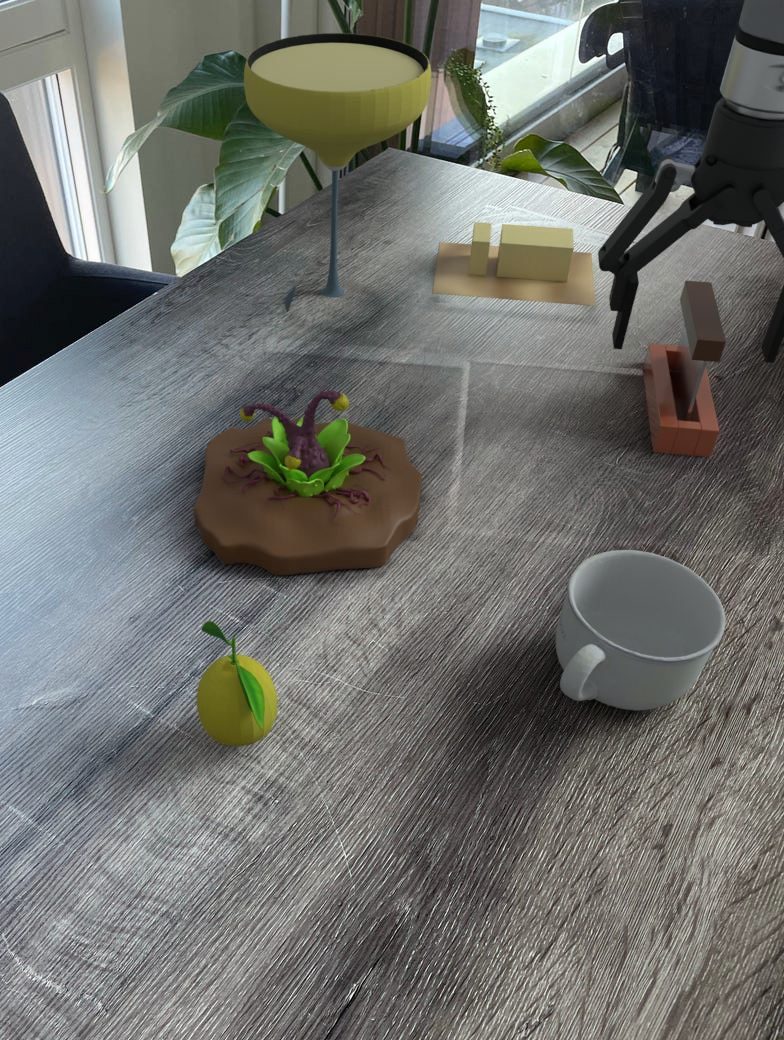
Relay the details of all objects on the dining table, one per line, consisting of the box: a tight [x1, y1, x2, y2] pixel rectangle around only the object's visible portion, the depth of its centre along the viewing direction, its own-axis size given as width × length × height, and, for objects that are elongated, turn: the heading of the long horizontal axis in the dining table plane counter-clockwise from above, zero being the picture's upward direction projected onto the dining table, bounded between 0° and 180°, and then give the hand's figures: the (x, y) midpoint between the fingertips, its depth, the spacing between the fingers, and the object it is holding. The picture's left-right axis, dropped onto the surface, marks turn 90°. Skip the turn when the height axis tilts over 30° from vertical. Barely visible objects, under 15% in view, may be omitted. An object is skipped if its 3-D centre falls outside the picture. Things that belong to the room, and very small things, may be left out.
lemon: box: [196, 620, 278, 747], centre depth 69 cm, size 7×6×10 cm
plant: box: [192, 389, 423, 576], centre depth 87 cm, size 20×20×11 cm
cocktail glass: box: [243, 32, 432, 312], centre depth 108 cm, size 18×18×25 cm
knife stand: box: [641, 342, 720, 458], centre depth 100 cm, size 5×15×4 cm, turn 171°
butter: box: [496, 223, 575, 282], centre depth 118 cm, size 8×5×4 cm, turn 81°
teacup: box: [555, 549, 727, 711], centre depth 74 cm, size 14×11×8 cm
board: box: [431, 241, 597, 307], centre depth 120 cm, size 18×13×2 cm
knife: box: [670, 280, 727, 421], centre depth 97 cm, size 2×11×10 cm, turn 171°
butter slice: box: [468, 221, 493, 276], centre depth 119 cm, size 2×5×4 cm, turn 171°
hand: (691, 348), depth 96 cm, fingers open, 13 cm apart
